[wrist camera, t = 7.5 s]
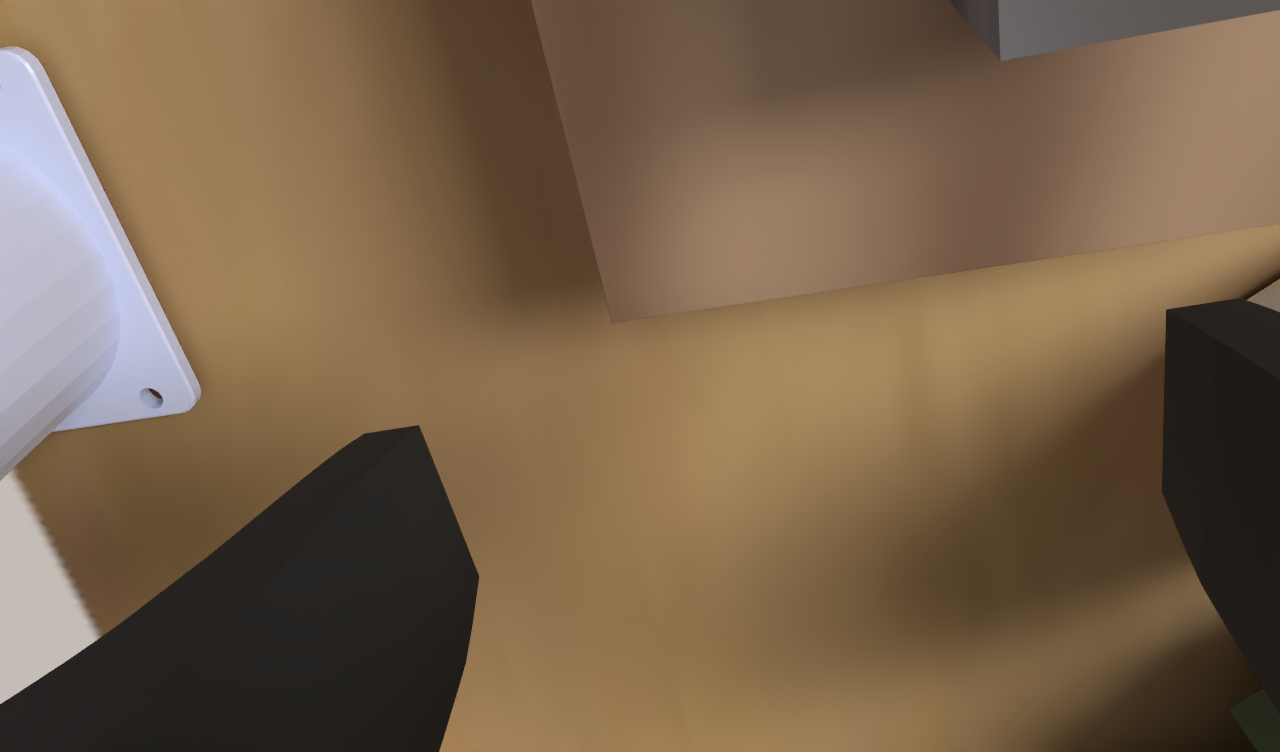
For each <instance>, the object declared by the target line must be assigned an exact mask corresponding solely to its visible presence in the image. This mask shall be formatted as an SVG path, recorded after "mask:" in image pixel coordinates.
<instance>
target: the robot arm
mask: <svg viewBox="0 0 1280 752" xmlns="http://www.w3.org/2000/svg"><path fill="white" fill-rule="evenodd" d="M0 87H1V89H0V480H2V479H3V478H4V477H5V476H6V475H7V474H8V473H9V472H10V471H11V470H12V469H13V468H14V467H15V466H16V465H17V464H18V463H19V462H20V461H21V460H22V459H24V458H25V457H26V456H27V455H28V454H29V453H30V452H31V451H32V450H33V449H34V448H35V447H36V446H37V445H38V444H39V443H40V442H41V441H42V440H43V439H44V438H46V437H47V436H48V435H49V434H50V433H51V432H56V431H63V430H70V429H77V428H84V427H91V426H98V425H105V424H111V423H118V422H125V421H132V420H139V419H146V418H153V417H160V416H167V415H173V414H180V413H184V412H187V411H189V410H190V409H191V408H192V407H193V406H194V405H195V404H196V402H197V401H198V400H199V399H200V396H201V388H200V385H199V382H198V380H197V378H196V376H195V374H194V372H193V370H192V368H191V366H190V364H189V362H188V360H187V358H186V356H185V354H184V352H183V350H182V348H181V346H180V344H179V342H178V340H177V338H176V336H175V334H174V332H173V330H172V328H171V326H170V324H169V322H168V319H167V317H166V315H165V313H164V311H163V309H162V307H161V305H160V303H159V301H158V299H157V297H156V295H155V293H154V291H153V289H152V287H151V285H150V283H149V281H148V279H147V277H146V275H145V273H144V271H143V269H142V267H141V265H140V263H139V261H138V259H137V257H136V255H135V252H134V250H133V248H132V246H131V244H130V242H129V240H128V238H127V236H126V234H125V232H124V230H123V228H122V226H121V224H120V222H119V220H118V218H117V216H116V214H115V212H114V210H113V208H112V206H111V204H110V202H109V200H108V198H107V196H106V194H105V192H104V190H103V188H102V185H101V183H100V181H99V179H98V177H97V175H96V173H95V171H94V169H93V167H92V165H91V163H90V161H89V159H88V157H87V155H86V153H85V151H84V149H83V147H82V145H81V143H80V141H79V139H78V137H77V135H76V133H75V131H74V129H73V127H72V125H71V123H70V121H69V118H68V116H67V114H66V112H65V110H64V108H63V106H62V104H61V102H60V100H59V98H58V96H57V94H56V92H55V90H54V88H53V86H52V84H51V82H50V80H49V78H48V76H47V74H46V72H45V70H44V68H43V66H42V65H41V64H40V62H39V61H38V59H37V58H36V57H35V56H33V55H32V54H31V53H30V52H28V51H27V50H24V49H22V48H19V47H3V48H0ZM149 388H151V389H154V390H156V391H157V392H159V394H160V395H161V396H162V398H163V399H159V398H157V397H155V396H154V395H153V394H152V393H151V392H150V391H149ZM1162 493H1163V495H1164V498H1165V500H1166V503H1167V505H1168V508H1169V510H1170V513H1171V515H1172V517H1173V520H1174V522H1175V525H1176V527H1177V530H1178V532H1179V535H1180V537H1181V539H1182V542H1183V544H1184V546H1185V549H1186V551H1187V553H1188V556H1189V558H1190V560H1191V562H1192V565H1193V567H1194V569H1195V571H1196V574H1197V576H1198V578H1199V580H1200V583H1201V585H1202V586H1203V588H1204V590H1205V592H1206V593H1207V595H1208V597H1209V598H1210V600H1211V602H1212V604H1213V605H1214V607H1215V609H1216V610H1217V612H1218V614H1219V615H1220V617H1221V619H1222V620H1223V622H1224V624H1225V625H1226V627H1227V629H1228V630H1229V632H1230V634H1231V635H1232V637H1233V639H1234V640H1235V642H1236V644H1237V645H1238V647H1239V649H1240V651H1241V652H1242V654H1243V656H1244V657H1245V659H1246V661H1247V662H1248V664H1249V665H1250V667H1251V669H1252V670H1253V672H1254V674H1255V675H1256V677H1257V679H1258V680H1259V682H1260V683H1261V685H1262V687H1263V688H1264V690H1265V692H1266V693H1267V695H1268V697H1269V698H1270V700H1271V702H1272V703H1273V705H1274V706H1275V708H1276V710H1277V711H1278V713H1279V715H1280V312H1278V311H1275V310H1273V309H1270V308H1267V307H1265V306H1262V305H1259V304H1256V303H1253V302H1250V301H1247V300H1244V299H1240V298H1239V299H1232V300H1226V301H1219V302H1213V303H1206V304H1200V305H1193V306H1187V307H1180V308H1174V309H1167V310H1166V342H1165V385H1164V428H1163V471H1162ZM478 581H479V575H478V572H477V570H476V567H475V565H474V562H473V560H472V557H471V555H470V552H469V550H468V547H467V545H466V542H465V540H464V537H463V535H462V532H461V529H460V527H459V524H458V522H457V519H456V517H455V514H454V512H453V509H452V507H451V504H450V502H449V499H448V497H447V494H446V492H445V489H444V487H443V484H442V482H441V479H440V477H439V474H438V472H437V469H436V467H435V464H434V462H433V459H432V457H431V454H430V452H429V449H428V447H427V444H426V442H425V439H424V437H423V434H422V432H421V429H420V427H419V425H418V426H411V427H405V428H398V429H392V430H385V431H379V432H372V433H366V434H363V435H362V436H360V437H359V438H357V439H356V440H354V441H352V442H351V443H349V444H348V445H346V446H345V447H344V448H342V449H341V450H339V451H338V452H337V453H335V454H334V455H333V456H331V457H330V458H329V459H327V460H326V461H325V462H324V463H322V464H321V465H320V466H318V467H317V468H316V469H315V470H313V471H312V472H311V473H310V474H308V475H307V476H306V477H305V478H303V479H302V480H301V481H300V482H298V483H297V484H296V485H295V486H294V487H292V488H291V489H290V490H289V491H287V492H286V493H285V494H284V495H283V496H281V497H280V498H279V499H278V500H276V501H275V502H274V503H273V504H272V505H270V506H269V507H268V508H267V509H265V510H264V511H263V512H262V513H261V514H259V515H258V516H257V517H256V518H254V519H253V520H252V521H251V522H250V523H248V524H247V525H246V526H245V527H243V528H242V529H241V530H240V531H239V532H237V533H236V534H235V535H234V536H232V537H231V538H230V539H229V540H228V541H226V542H225V543H224V544H223V545H221V546H220V547H219V548H218V549H217V550H215V551H214V552H213V553H212V554H210V555H209V556H208V557H207V558H205V559H204V560H203V561H201V562H200V563H199V564H197V565H196V566H195V567H193V568H192V569H191V570H190V571H188V572H187V573H186V574H184V575H183V576H182V577H180V578H179V579H178V580H177V581H175V582H174V583H173V584H171V585H170V586H169V587H167V588H166V589H165V590H163V591H162V592H161V593H160V594H158V595H157V596H156V597H154V598H153V599H152V600H150V601H149V602H148V603H147V604H145V605H144V606H143V607H141V608H140V609H139V610H137V611H136V612H135V613H133V614H132V615H131V616H130V617H128V618H127V619H126V620H124V621H123V622H122V623H120V624H119V625H118V626H116V627H115V628H113V629H112V630H111V631H109V632H108V633H106V634H105V635H104V636H102V637H101V638H99V639H98V640H97V641H95V642H94V643H92V644H91V645H89V646H88V647H86V648H85V649H84V650H82V651H81V652H79V653H78V654H77V655H75V656H73V657H72V658H71V659H69V660H68V661H66V662H65V663H64V664H62V665H60V666H58V667H57V668H55V669H54V670H52V671H51V672H49V673H48V674H46V675H45V676H43V677H42V678H40V679H39V680H37V681H36V682H34V683H33V684H31V685H30V686H28V687H27V688H25V689H23V690H22V691H20V692H19V693H17V694H16V695H14V696H13V697H11V698H10V699H8V700H6V701H5V702H3V703H2V704H0V752H439V750H440V747H441V744H442V741H443V737H444V734H445V731H446V728H447V724H448V721H449V718H450V714H451V711H452V708H453V704H454V701H455V698H456V694H457V691H458V688H459V684H460V681H461V678H462V674H463V671H464V667H465V664H466V658H467V653H468V647H469V641H470V636H471V630H472V624H473V617H474V610H475V603H476V596H477V588H478Z"/></svg>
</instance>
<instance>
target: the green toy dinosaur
mask: <svg viewBox="0 0 1280 752" xmlns="http://www.w3.org/2000/svg"><path fill="white" fill-rule="evenodd" d="M1229 710H1230V711H1231V713H1232V714H1233V716H1234V717H1235V719H1236V720H1237V722H1238V723H1239V725H1240V726H1241V728H1242V729H1243V731H1244V732H1245V734H1246V735H1247V737H1248V738H1249V740H1250V741H1251V743H1252V744H1253V746H1254V747H1255V749H1256V750H1257V752H1280V715H1279V713H1278V711H1277V710H1276V708H1275V706H1274V705H1273V703H1272V702H1271V700H1270V698H1269V697H1268V695H1267V693H1266V692H1265V690H1264V688H1263V689H1261V690H1260V691H1258V692H1256V693H1255V694H1253V695H1251V696H1250V697H1248V698H1246V699H1244V700H1243V701H1241V702H1239V703H1238V704H1236V705H1234V706H1233V707H1231V708H1229Z"/></svg>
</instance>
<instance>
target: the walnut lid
mask: <svg viewBox="0 0 1280 752" xmlns="http://www.w3.org/2000/svg"><path fill="white" fill-rule="evenodd" d="M531 4H532V8H533V12H534V16H535V20H536V24H537V28H538V32H539V36H540V40H541V44H542V48H543V52H544V55H545V59H546V63H547V67H548V71H549V75H550V79H551V83H552V87H553V91H554V95H555V99H556V103H557V107H558V111H559V115H560V119H561V123H562V127H563V131H564V135H565V139H566V143H567V147H568V151H569V155H570V159H571V163H572V167H573V170H574V174H575V178H576V182H577V186H578V190H579V194H580V198H581V202H582V206H583V210H584V214H585V218H586V222H587V226H588V230H589V234H590V238H591V242H592V246H593V250H594V254H595V258H596V262H597V266H598V270H599V274H600V278H601V282H602V285H603V289H604V293H605V297H606V301H607V305H608V309H609V313H610V317H611V321H612V323H616V322H622V321H629V320H636V319H643V318H649V317H656V316H663V315H670V314H676V313H683V312H690V311H697V310H703V309H710V308H717V307H724V306H730V305H737V304H744V303H751V302H757V301H764V300H771V299H778V298H784V297H791V296H798V295H805V294H811V293H818V292H825V291H832V290H838V289H845V288H852V287H859V286H865V285H872V284H879V283H886V282H892V281H899V280H906V279H913V278H919V277H926V276H933V275H940V274H946V273H953V272H960V271H967V270H973V269H980V268H987V267H994V266H1000V265H1007V264H1014V263H1021V262H1027V261H1034V260H1041V259H1048V258H1054V257H1061V256H1068V255H1075V254H1082V253H1088V252H1095V251H1102V250H1109V249H1115V248H1122V247H1129V246H1136V245H1142V244H1149V243H1156V242H1163V241H1169V240H1176V239H1183V238H1190V237H1196V236H1203V235H1210V234H1217V233H1223V232H1230V231H1237V230H1244V229H1250V228H1257V227H1264V226H1271V225H1277V224H1280V0H531Z"/></svg>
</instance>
